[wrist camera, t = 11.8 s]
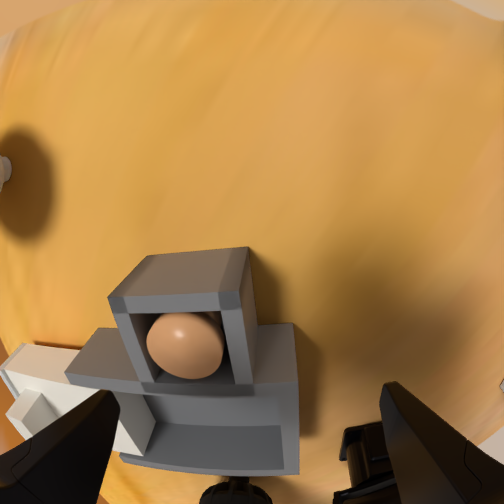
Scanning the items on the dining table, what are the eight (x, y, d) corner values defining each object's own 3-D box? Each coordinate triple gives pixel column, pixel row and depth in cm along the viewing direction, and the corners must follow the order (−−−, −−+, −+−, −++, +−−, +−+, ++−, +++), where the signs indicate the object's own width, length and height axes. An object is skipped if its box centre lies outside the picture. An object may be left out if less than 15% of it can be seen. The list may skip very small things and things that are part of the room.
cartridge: (155, 421, 25) (131, 489, 17) (57, 403, 26) (26, 452, 18) (124, 353, 22) (80, 428, 14) (22, 342, 23) (-22, 391, 15)
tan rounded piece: (235, 336, 20) (227, 379, 16) (176, 337, 20) (158, 377, 16) (225, 280, 18) (214, 317, 14) (161, 284, 19) (137, 319, 15)
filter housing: (296, 423, 25) (299, 474, 20) (141, 419, 27) (124, 462, 21) (287, 243, 19) (294, 286, 14) (75, 262, 21) (29, 298, 15)
